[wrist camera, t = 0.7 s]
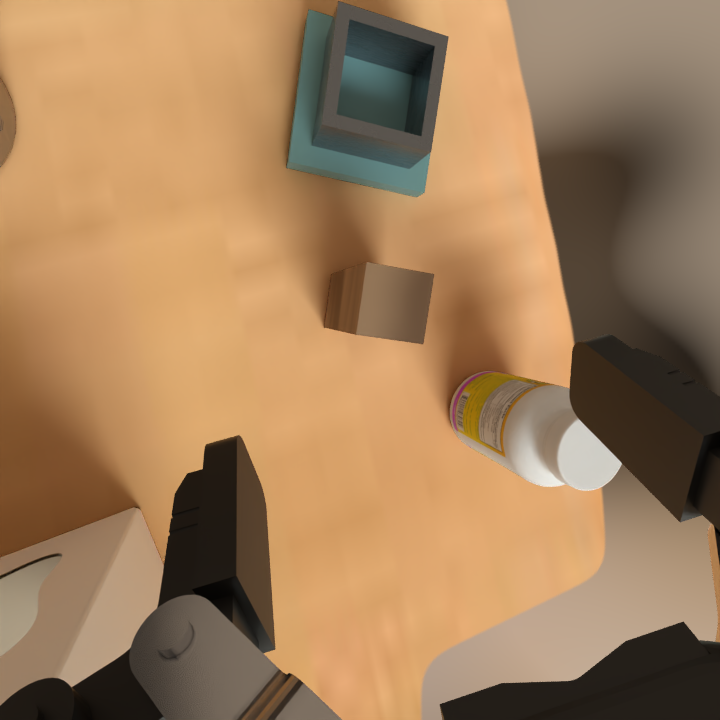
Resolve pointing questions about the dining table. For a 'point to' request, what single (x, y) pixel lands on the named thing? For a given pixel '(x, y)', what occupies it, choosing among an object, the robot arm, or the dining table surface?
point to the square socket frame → (391, 50)
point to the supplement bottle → (530, 431)
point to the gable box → (76, 600)
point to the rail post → (380, 302)
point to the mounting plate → (351, 116)
